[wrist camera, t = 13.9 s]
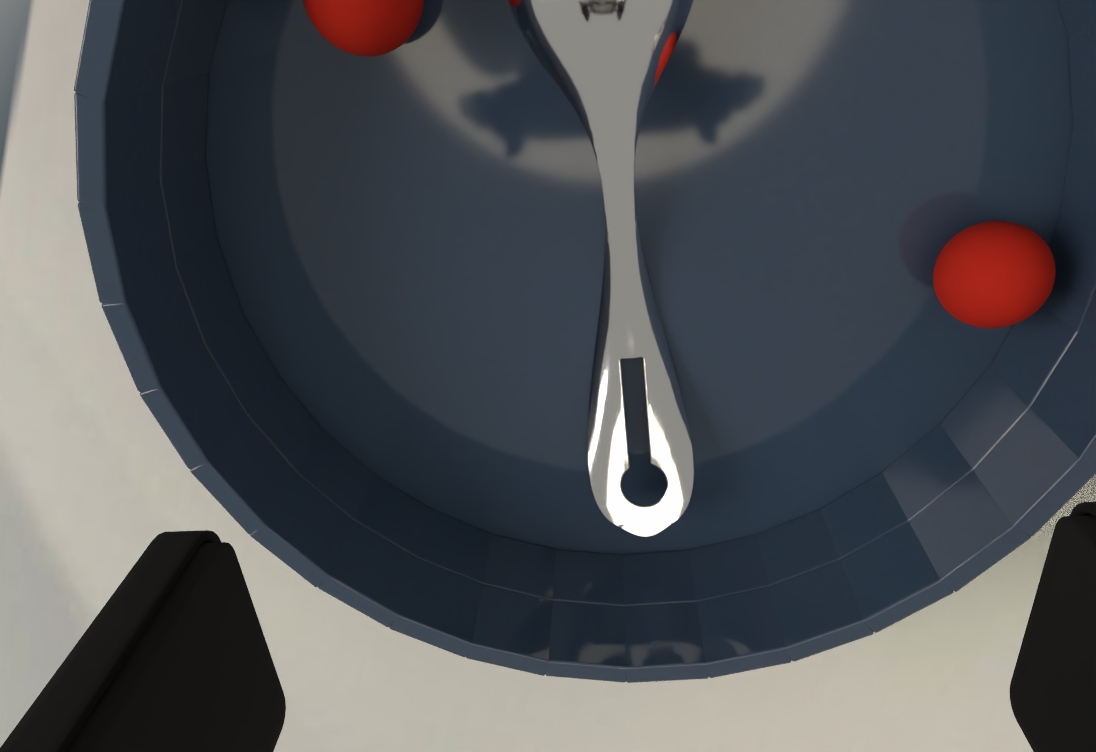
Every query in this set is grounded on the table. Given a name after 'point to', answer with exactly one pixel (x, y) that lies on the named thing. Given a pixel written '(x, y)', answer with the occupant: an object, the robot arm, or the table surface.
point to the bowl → (574, 303)
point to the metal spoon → (620, 234)
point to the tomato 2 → (994, 274)
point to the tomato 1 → (365, 23)
